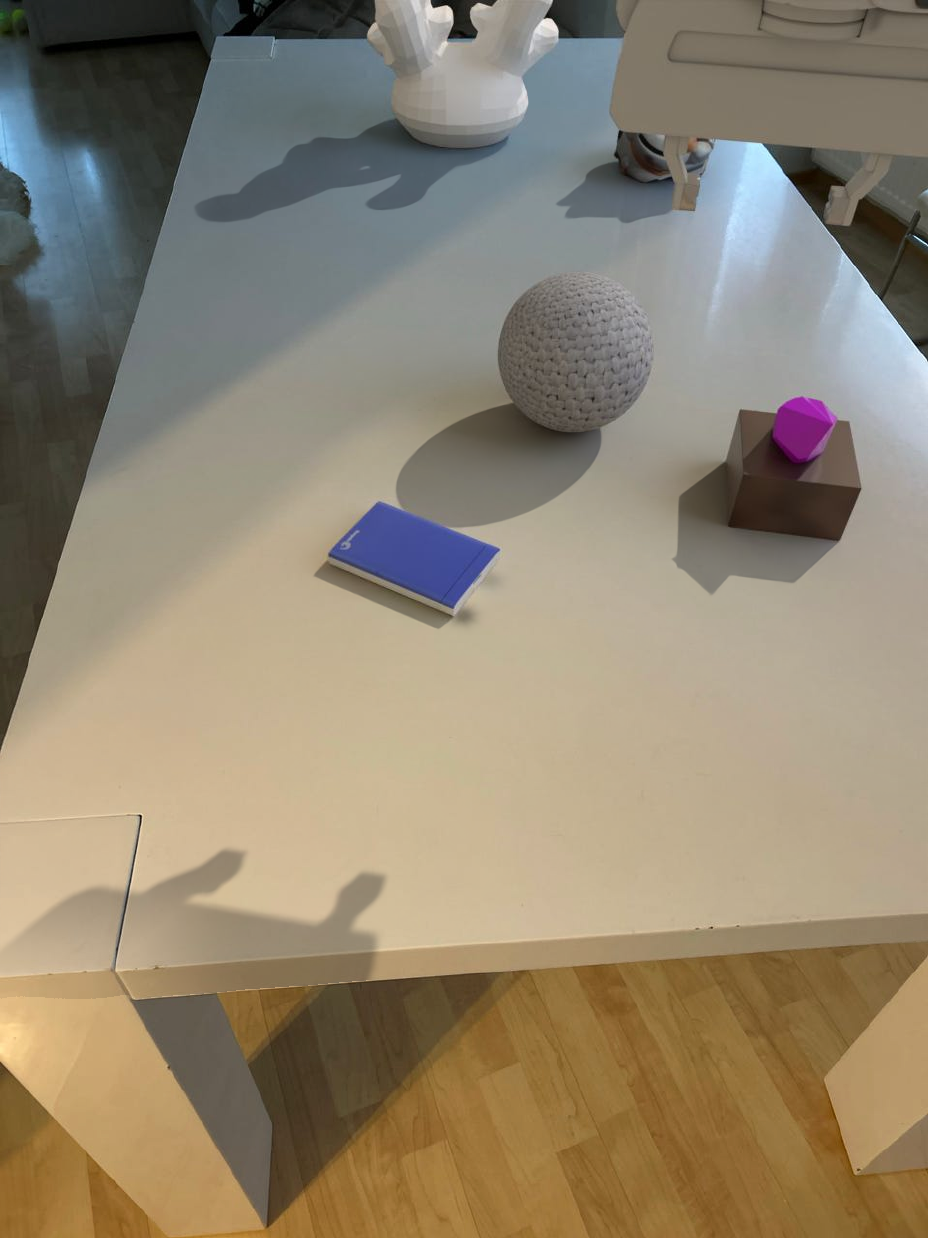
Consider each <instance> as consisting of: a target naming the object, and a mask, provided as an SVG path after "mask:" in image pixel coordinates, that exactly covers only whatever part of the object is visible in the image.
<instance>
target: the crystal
mask: <svg viewBox="0 0 928 1238" xmlns="http://www.w3.org/2000/svg"><path fill="white" fill-rule="evenodd" d="M776 413H777V414H776V417H775V421H774V424H773V439H774V440H775V441H776V442H777V444H778V445H779V446H780V447H781V449H782V450H783V451H784V452H785V454H786V455H787V456H788V457H789V459H790V460H791V461H792V462H794V463H803V462H807V461H809V460H811V459H813V458H814V457H816V456H818V455H820V454H821V453H822V452H823V450H824V448H825V446H826V444H827V441H828V439H829V437H830V435H831V433H832V430H833V428H834V426H835V424H836V422H837V420H839V418H838V417H837V415H835V414H834V412H832V411H831V410H830V408H829V407H828V406H827V405H826V404H825V402H823V400H820V399H816V398H810V397H807V396H802V395H801V396H798V397H797V396H796V397H793V398H791V399H789V400H787V401H785V402H784V403H783V404H782V405H780V406H779V407H778V408H777V411H776Z"/></svg>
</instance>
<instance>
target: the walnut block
mask: <svg viewBox="0 0 928 1238" xmlns="http://www.w3.org/2000/svg"><path fill="white" fill-rule="evenodd" d="M776 414H777V412H769V411H761V410H751V409H742V408H741V409H739V411H738V414H737V418H736V422H735V426H734V429H733V433H732V436H731V441H730V444H729V448H728V451H727V455H726V459H725V478H726V507H727V508H726V509H727V527H729V528H736V529H745V530H753V531H761V532H770V533H777V534H786V535H792V536H794V535H795V536H801V537H810V538H817V539H826V540H832V541H833V540H835V541H841V540H842V537H843V535H844V533H845V530H846V528H847V525H848V523H849V521H850V518H851V515H852V513H853V511H854V508H855V505H856V504H857V501H858V498H859V496H860V494H861V492H862V488H863V487H862V483H861V477H860V471H859V466H858V461H857V456H856V450H855V444H854V440H853V433H852V428H851V423H850V421H849V420H841V419H840V420H839V419H837V422H836V424H835V426H834V428H833V430H832V433H831V435H830V437H829V439H828V441H827V444H826V446H825V448H824V450H823V452H822V453H821V454H820V455H818V456H816V457H814V458H813V459H811V460H809V461H807V462H803V463H794V462H792V461H791V460H790V459H789V457H788V456H787V455H786V454H785V452H784V451H783V450H782V449H781V447H780V446H779V445H778V444H777V442H776V441H775V440H774V439H773V424H774V421H775V417H776Z"/></svg>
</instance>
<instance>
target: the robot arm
mask: <svg viewBox="0 0 928 1238" xmlns="http://www.w3.org/2000/svg"><path fill="white" fill-rule="evenodd" d="M615 15H616V20H617V23H618V25H619V27H620V28H621V30H622V32H623V33H624V35H623V38H622V43H621V46H620V51H619V54H618V59H617V63H616V67H615V71H614V77H613V83H612V89H611V96H610V101H609V102H610V103H609V109H608V113H609V116H610V118H611V119H612V122H613V123H614V124H615V125H616V127H617V129H618V131H619V130H620V131H624V132H634V133H646V134H657V135H665V138H664V150H663V154H664V157H665V160H666V162H667V165H668V167H669V170H670V173H671V175H672V177H671V178H672V181H673V183H674V184H673V190H672V198H671V209H670V210H672V211H682V212H684V211H685V212H696V208H697V201H698V199H697V198H698V197H699V193H700V188H701V181H700V180H701V174H695V173H687V170H686V167H685V164H684V161H683V158H682V156H681V155H685V154H686V153H687V149H688V144H689V139H690V137H693V138H704V139H713V140H714V139H715V141H730V142H739V143H740V142H741V143H752V144H753V143H754V144H764V145H765V144H766V145H774V146H775V145H777V146H789V147H799V148H800V147H801V148H811V149H823V150H835V151H836V150H837V151H847V152H858V153H859V152H860V159H861V162H862V165H861V167H860V168H859V170H858V171H856V173H855V174H854V175H853V176H852V177H851V178H850V180H849V181H848V182H847V183H846V184H845V186H844V185H831V186H830V189H829V193H828V196H827V197H828V201H827V202H826V203H825V206H824V210H823V220H824V224H825V225H834V226H843V227H850V226H851V225H852V222H853V218H854V216H855V213H856V210H857V206H858V203H859V200H862V199H863V198H864V197H865V196H866V195H867V194H868V193H870V191H871V190H872V189H873V188H874V187H875V186H876V185H878V183H879V182H881V180H883V178H884V177H885V176H886V175H888V173H889V171H890V168H891V164H892V162H893V158H894V155H895V156H905V157H916V158H917V157H918V158H919V157H921V158H928V0H616V3H615Z"/></svg>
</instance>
